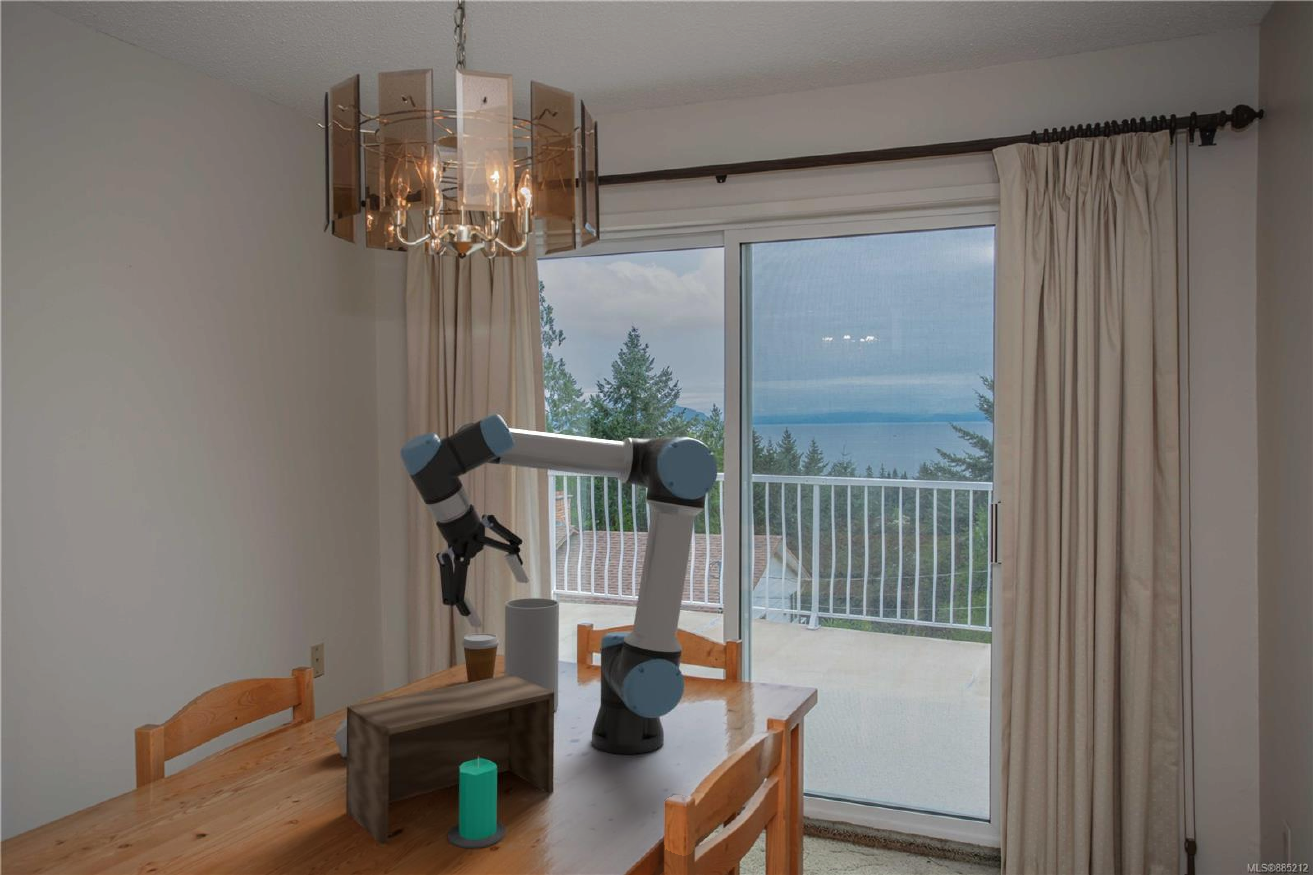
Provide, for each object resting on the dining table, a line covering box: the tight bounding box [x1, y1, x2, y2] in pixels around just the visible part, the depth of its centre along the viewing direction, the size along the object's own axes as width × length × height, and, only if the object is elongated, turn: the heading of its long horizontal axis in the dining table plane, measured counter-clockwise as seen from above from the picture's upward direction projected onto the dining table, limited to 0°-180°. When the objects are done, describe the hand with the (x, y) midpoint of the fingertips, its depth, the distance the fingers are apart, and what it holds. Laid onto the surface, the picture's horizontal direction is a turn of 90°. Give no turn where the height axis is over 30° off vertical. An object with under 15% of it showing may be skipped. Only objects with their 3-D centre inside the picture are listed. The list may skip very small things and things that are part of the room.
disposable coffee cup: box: [461, 632, 500, 683], centre depth 226 cm, size 10×10×12 cm
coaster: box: [447, 821, 506, 850], centre depth 140 cm, size 9×9×1 cm
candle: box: [458, 756, 498, 840], centre depth 140 cm, size 6×6×12 cm
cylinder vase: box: [504, 597, 560, 712], centre depth 204 cm, size 12×12×25 cm
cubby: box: [345, 675, 555, 845], centre depth 152 cm, size 15×32×18 cm, turn 130°
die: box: [332, 715, 347, 758], centre depth 175 cm, size 8×9×10 cm
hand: (501, 603), depth 170 cm, fingers open, 13 cm apart
